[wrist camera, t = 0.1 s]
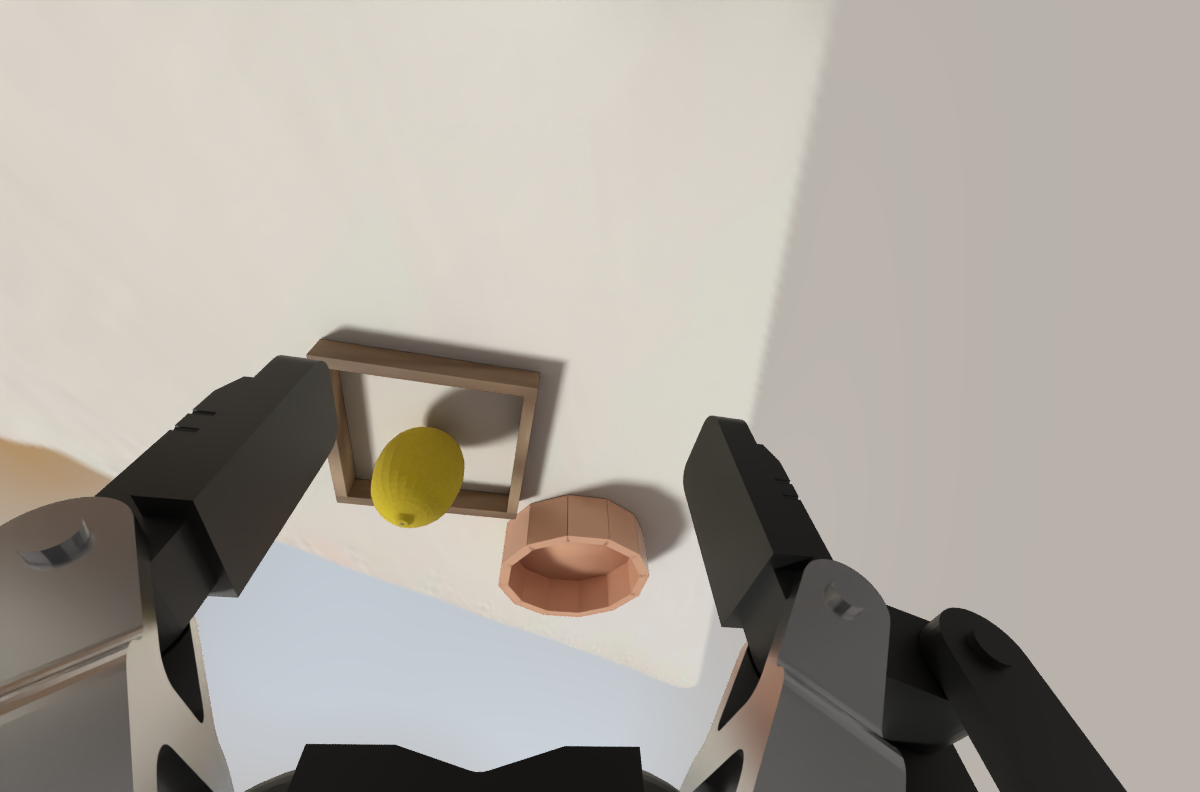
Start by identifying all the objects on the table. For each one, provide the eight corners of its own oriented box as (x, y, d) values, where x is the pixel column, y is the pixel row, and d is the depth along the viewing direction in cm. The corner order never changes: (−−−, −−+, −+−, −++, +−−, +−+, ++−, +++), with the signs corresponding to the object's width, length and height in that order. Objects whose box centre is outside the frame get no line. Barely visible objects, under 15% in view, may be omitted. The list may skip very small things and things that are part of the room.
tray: (320, 339, 27) (306, 354, 26) (539, 372, 30) (538, 388, 28) (346, 484, 36) (337, 502, 34) (517, 502, 38) (515, 519, 36)
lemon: (488, 439, 33) (469, 531, 27) (434, 469, 35) (404, 561, 29) (434, 391, 30) (398, 480, 24) (378, 426, 32) (330, 518, 26)
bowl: (512, 488, 37) (506, 530, 34) (658, 504, 39) (665, 544, 36) (499, 571, 44) (494, 611, 41) (622, 581, 46) (626, 619, 43)
